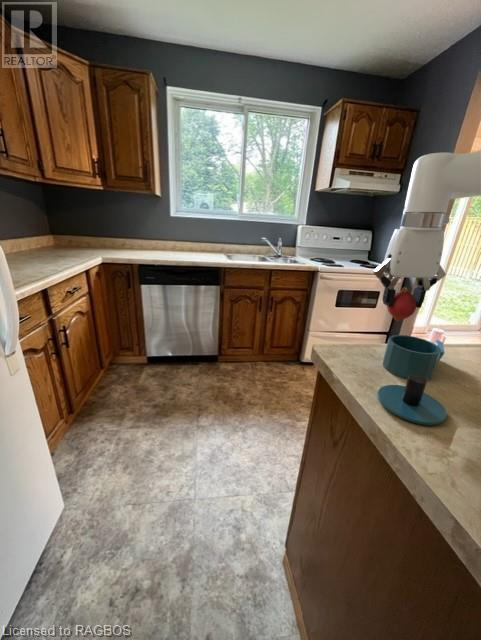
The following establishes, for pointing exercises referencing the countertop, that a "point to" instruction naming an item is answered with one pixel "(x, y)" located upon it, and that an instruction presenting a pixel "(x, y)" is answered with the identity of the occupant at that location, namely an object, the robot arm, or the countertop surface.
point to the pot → (411, 356)
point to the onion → (402, 305)
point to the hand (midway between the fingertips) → (401, 304)
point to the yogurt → (440, 345)
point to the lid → (412, 402)
